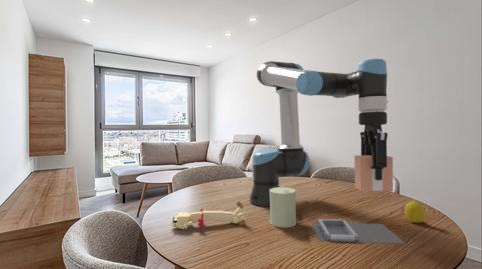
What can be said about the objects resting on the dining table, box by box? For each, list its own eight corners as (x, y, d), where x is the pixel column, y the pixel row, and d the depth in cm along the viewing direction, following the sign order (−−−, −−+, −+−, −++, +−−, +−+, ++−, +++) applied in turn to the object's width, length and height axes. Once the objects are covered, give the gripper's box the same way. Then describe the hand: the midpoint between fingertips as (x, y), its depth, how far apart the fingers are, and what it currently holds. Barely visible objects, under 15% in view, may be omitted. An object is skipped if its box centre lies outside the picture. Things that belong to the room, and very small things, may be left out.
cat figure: (240, 220, 93) (171, 221, 88) (241, 197, 93) (173, 197, 88) (245, 231, 83) (169, 232, 78) (247, 205, 83) (170, 205, 78)
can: (280, 229, 80) (279, 193, 80) (264, 220, 88) (264, 187, 88) (301, 224, 85) (301, 189, 84) (285, 216, 93) (284, 184, 92)
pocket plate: (319, 243, 70) (319, 236, 70) (311, 224, 84) (311, 218, 84) (405, 246, 67) (405, 238, 67) (382, 226, 81) (382, 219, 81)
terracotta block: (360, 190, 73) (360, 157, 73) (354, 186, 78) (354, 155, 78) (392, 191, 72) (392, 157, 72) (384, 187, 77) (384, 155, 77)
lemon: (426, 228, 79) (425, 204, 79) (405, 225, 82) (405, 201, 82) (424, 223, 83) (424, 199, 83) (404, 220, 86) (404, 197, 86)
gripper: (401, 109, 65) (402, 196, 65) (372, 113, 83) (373, 181, 83) (372, 110, 66) (372, 196, 66) (349, 113, 84) (350, 181, 84)
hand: (373, 187), depth 75 cm, fingers closed on terracotta block, 5 cm apart
